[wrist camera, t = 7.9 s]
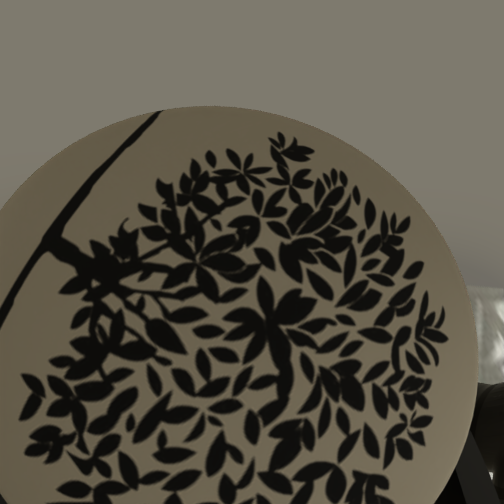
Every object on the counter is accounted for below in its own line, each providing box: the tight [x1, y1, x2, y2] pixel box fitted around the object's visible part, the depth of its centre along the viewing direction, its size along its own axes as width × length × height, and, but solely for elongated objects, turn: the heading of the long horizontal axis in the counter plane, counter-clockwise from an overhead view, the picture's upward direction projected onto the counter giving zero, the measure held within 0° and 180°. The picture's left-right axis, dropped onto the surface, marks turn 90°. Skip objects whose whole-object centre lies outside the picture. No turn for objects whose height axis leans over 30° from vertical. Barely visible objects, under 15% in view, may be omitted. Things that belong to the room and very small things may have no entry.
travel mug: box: [0, 106, 478, 504], centre depth 11 cm, size 8×8×18 cm
